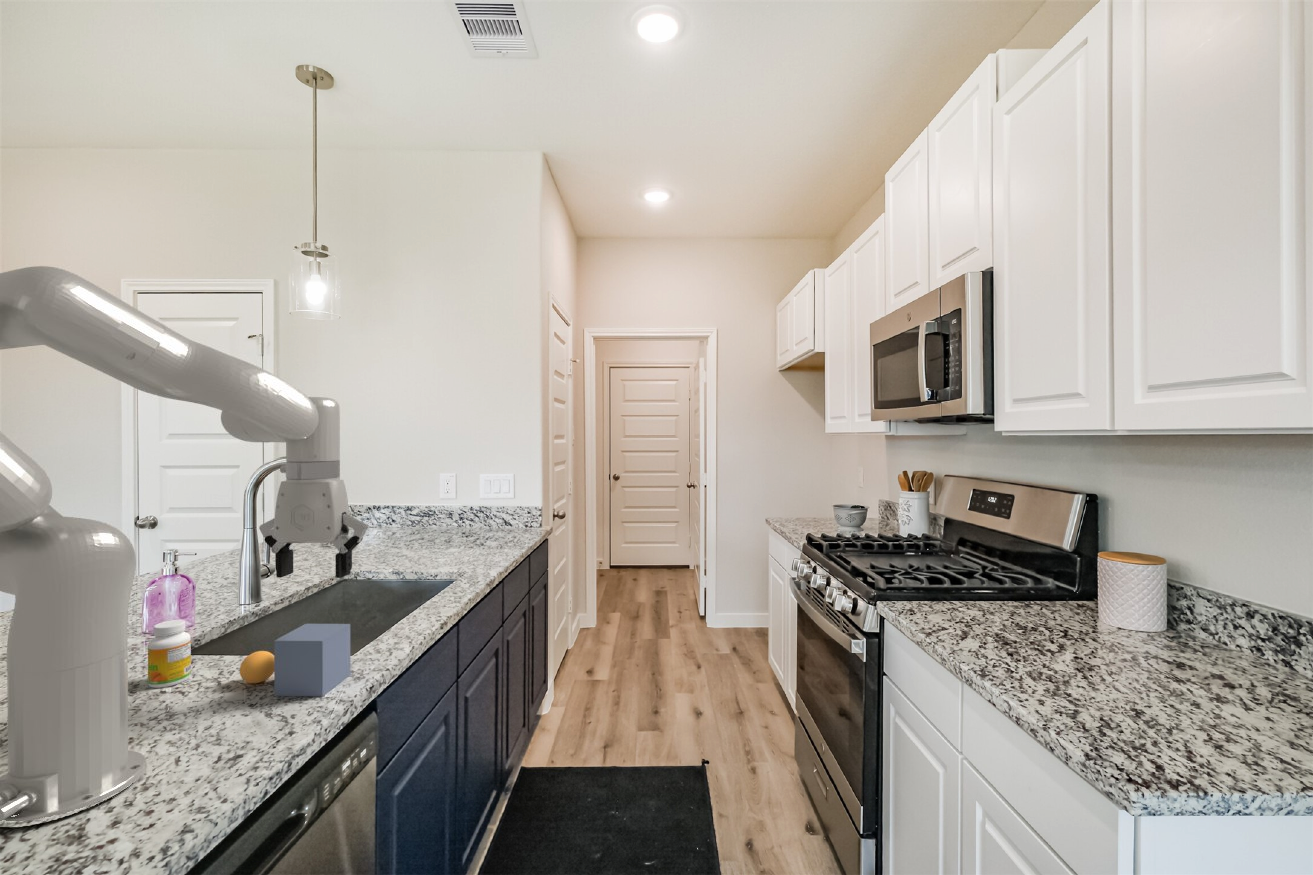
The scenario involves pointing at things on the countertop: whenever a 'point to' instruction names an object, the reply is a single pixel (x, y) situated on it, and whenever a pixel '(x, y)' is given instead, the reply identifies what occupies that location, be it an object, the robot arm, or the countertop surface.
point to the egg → (257, 667)
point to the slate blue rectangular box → (311, 659)
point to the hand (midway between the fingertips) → (314, 575)
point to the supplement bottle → (169, 654)
